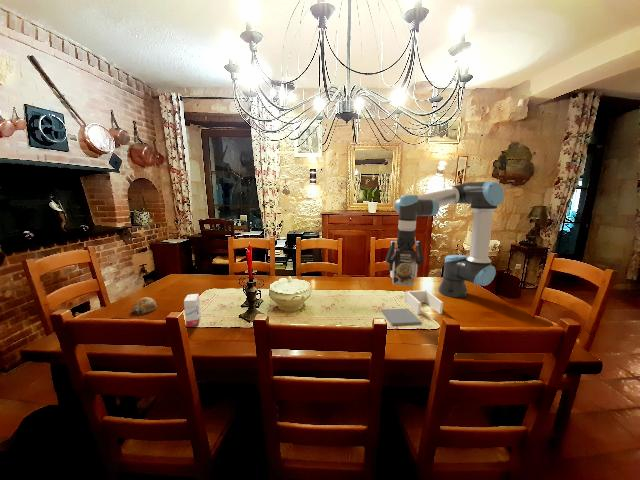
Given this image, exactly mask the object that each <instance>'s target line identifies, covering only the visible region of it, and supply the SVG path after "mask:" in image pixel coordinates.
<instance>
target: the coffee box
mask: <svg viewBox="0 0 640 480" xmlns="http://www.w3.org/2000/svg"><path fill="white" fill-rule="evenodd" d="M394 252H395V255H396V256H395V261H394V264H395V268H394V278H392V279H391V280H392V285H393V286H401V287H403V286H404V287H414V283H415V277H414V274H415V262H416V255H417V250H415V249H414V251H411V250H402V251H398V250H396V248H394Z"/></svg>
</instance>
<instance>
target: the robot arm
mask: <svg viewBox="0 0 640 480" xmlns="http://www.w3.org/2000/svg"><path fill="white" fill-rule="evenodd" d="M504 198H505V190H504V188H503V186H502V184H500V183H499V182H496V181H474V182H472V181H470V182H464V183H460V184H457V185H453V186H448V187H447V188H446V189H443V190H439V191H433V192H431V193H426V194H420V195H417V194H402V195H401V196H400V198H398V199H397V200H396V201H395V202H394V204H393V205H394V209H395V212H397V213H398V223H397V224H398V225H397V228H398V230H397V238H396V241H394V240H391V241H390V242H389V244H390V245H389V248H388V250H387V254H386V255H385V256H386V257H385V259H384V261H385V262H386V263H387V264H388V270H389V273H390V274H389V276H390V277H391V278H392V279H393V278H394V268H395V264H394V261H395V256H396V255H395V249H396V250H398V251H402V250H411V251H414V250H415V249H414V246H415V248H416V262H415V274H414V279H415V278H417V277H418V275H417V274H418V271H419V269H420V265H421V264H422V263H424V261H425V260H424V255H423V252H422V242H421V241H419V240H415V239H416V228H417V219H418V218H417V217H432V216H435V215H437V214H438V213H439V211H440V206H445V205H447V204H449V205H455V204H456V205H458V204H463V205H466V204H467V205H470V209H471V211H472V212H473V215H472V224H471V225H472V226H471V234H470V235H471V237H470V245H469V246H470V248H469V255H465V254H464V255H463V254H450V255H449V254H448V255H446V256H445V258H444V263H443V264H444V265H443V266H444V267H443V276H442V277H443V278H442V281H441V283H440V284H439V287H438V292H439V293H440V294H441V295H443V296H446V297H451V298H460V299H461V298H466V297H467V295H468V289H467V286H466V282H468V283H472V284H474V285H478V286H482V287H484V286H488V285H489V284H491V283H492V281H493V280H494V279H495V277H496V271H497V269H496V267H495V266H493V265H492V260H491V259H490V257H489V253H490V245H491V244H490V243H491V235H492V233H491V232H492V227H493V226H492V223H493V216H494V211H496V210H497V209H498V206H500V205H501V204H502V203H503V201H504ZM396 246H397V247H396ZM395 247H396V248H395Z"/></svg>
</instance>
